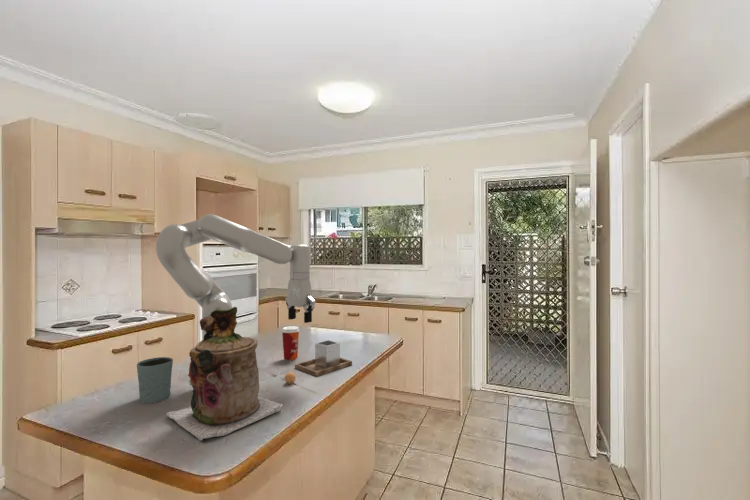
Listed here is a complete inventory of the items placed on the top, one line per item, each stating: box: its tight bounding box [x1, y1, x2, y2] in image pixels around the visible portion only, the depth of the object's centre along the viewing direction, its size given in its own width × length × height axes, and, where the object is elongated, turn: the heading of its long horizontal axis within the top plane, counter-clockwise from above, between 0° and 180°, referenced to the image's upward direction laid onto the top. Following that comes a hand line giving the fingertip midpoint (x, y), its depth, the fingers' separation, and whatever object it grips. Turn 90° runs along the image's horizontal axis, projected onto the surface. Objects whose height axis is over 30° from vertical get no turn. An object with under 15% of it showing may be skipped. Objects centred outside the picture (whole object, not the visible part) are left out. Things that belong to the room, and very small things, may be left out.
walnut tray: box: [294, 357, 353, 377], centre depth 148 cm, size 18×14×2 cm
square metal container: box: [314, 339, 341, 369], centre depth 150 cm, size 7×7×9 cm
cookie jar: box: [166, 306, 284, 441], centre depth 108 cm, size 25×25×32 cm
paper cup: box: [281, 325, 300, 361], centre depth 160 cm, size 8×8×14 cm
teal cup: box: [136, 356, 174, 404], centre depth 121 cm, size 10×10×12 cm
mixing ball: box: [284, 371, 296, 384], centre depth 133 cm, size 4×4×4 cm
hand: (299, 320), depth 143 cm, fingers open, 9 cm apart
